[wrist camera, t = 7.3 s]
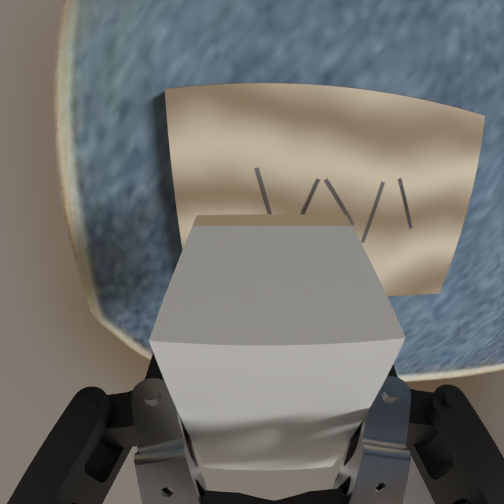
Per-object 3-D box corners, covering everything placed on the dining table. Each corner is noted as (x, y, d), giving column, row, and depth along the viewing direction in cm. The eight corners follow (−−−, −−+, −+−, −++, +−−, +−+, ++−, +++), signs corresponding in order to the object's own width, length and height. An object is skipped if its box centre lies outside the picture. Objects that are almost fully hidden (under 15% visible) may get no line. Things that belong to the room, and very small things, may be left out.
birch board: (171, 88, 17) (164, 89, 16) (473, 112, 17) (485, 116, 15) (193, 286, 26) (190, 297, 25) (432, 283, 25) (439, 293, 24)
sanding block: (196, 215, 10) (149, 340, 6) (346, 215, 10) (405, 337, 5) (217, 364, 14) (205, 467, 10) (319, 364, 14) (332, 466, 10)
